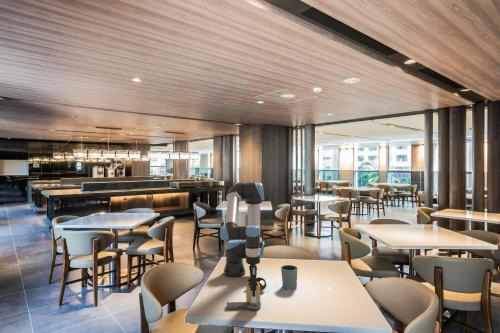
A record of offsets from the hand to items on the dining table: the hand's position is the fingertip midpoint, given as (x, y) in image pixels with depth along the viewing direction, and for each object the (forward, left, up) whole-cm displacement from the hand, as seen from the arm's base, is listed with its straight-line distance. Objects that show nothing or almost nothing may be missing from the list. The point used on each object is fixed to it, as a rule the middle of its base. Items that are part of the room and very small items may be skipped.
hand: (253, 298), depth 157 cm
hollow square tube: (0, 0, 0) cm, 0 cm away
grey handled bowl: (0, -6, -4) cm, 7 cm away
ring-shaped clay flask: (-23, +4, -5) cm, 24 cm away
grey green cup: (-26, +24, -5) cm, 36 cm away
